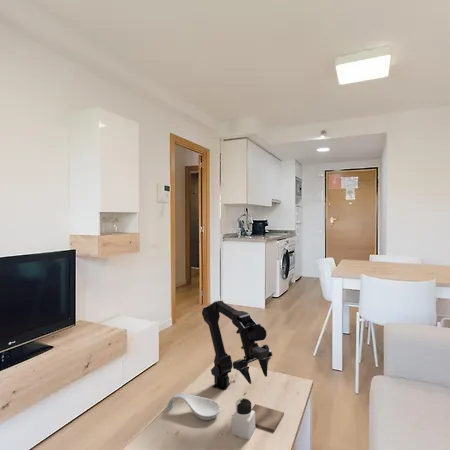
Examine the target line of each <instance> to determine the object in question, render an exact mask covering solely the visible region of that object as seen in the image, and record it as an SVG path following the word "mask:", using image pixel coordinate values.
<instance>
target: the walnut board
mask: <svg viewBox="0 0 450 450" xmlns="http://www.w3.org/2000/svg"><path fill="white" fill-rule="evenodd" d="M251 410H253V411H255V427H257V428H260V429H264V430H266V431H268V432H269V431H270V432H272V433H275V431H276V430H277V428H278V426H279V424H280V422H281V421H282V419H283V418H284V415H285V413H284V411H280V410H277V409H273V408H271V407H267V406H263V405H259V404H257V403H256V404H254V405H253V406H252V407H251Z"/></svg>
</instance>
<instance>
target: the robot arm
mask: <svg viewBox="0 0 450 450" xmlns="http://www.w3.org/2000/svg"><path fill="white" fill-rule="evenodd" d="M201 315H202V318H203V320H204V322H205V323H206V324H207V325H208V328H209V332H210V337H211V341H212V345H213V349H214V350H213V351H214V360H213V364H214V366H213V367H212V368H211V369H210V372H211V375H212V376H213V377H214V379H213V380H214V384H213V385H212V388H215V389H218V390H222V391H225V390H226V389H227V388H228V387H229V386H230V385H231V383H230V376H229V374H230V373H232V370H236V371H239V372H240V374H241V375H242V376H243V378H245V380H246V381H247V383H248V384H249V385H251V384H252V379H251V375H250V366H248V365H249V364H250V363H253V362H255V361H258V364H259V365H260V369H261V371H262V374H263V375H264V377H266V378H267V377H268V365H269V361H270V360H271V359H272V357H273V352H272V351H271V349H270V347H269V345H268V344H264V345H261V346H259V343H258V341H259V342H260V341H264V340H265V339H266V338H267V330H266V328H264V326H262V325H261V323H257V322H256V321H255V319H254V318H253V317H252V316H251V314H250V313H249V312H246V311H243V310H237V309H235V308H234V307H232V306H230V305H229V304H227V303H225V302H224V301H223V300H221V299H220V300H216V301H213V302H212V303H211V304H210V305H207V306H206V307H203V308H202V310H201ZM221 315H223V316H225V317H227V318H228V319H230V320H231V323H232V325H233V326H234V327H236V328H237V330H236V334H237V335H238V334H239V337H240V340H241V345H242V346H240V348H241V350H243V353H244V356H243V358H241V359H240V358H239V359H237V360H235V361H232V357H231V355H230V354H228V353H227V352H226V349H225V345H224V342H223V341H224V340H223V338H222V337H223V336H222V333H221V330H220V329H221V328H220V326H219V321H220V317H221ZM232 368H233V369H232Z"/></svg>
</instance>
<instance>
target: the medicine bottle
mask: <svg viewBox="0 0 450 450" xmlns="http://www.w3.org/2000/svg"><path fill="white" fill-rule="evenodd" d="M251 409H252V402H251V400H249V399H248V398H239V399H237V400H236V402H235V411H234V413H233V415H232V416H231V435H232V436H236V437H239V438H241V439H245V440H247V441H248V440H249V441H250V439H251V437H252V436H253V434H254V432H255V430H256V426H255V411H253V410H251Z"/></svg>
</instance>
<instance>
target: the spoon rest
mask: <svg viewBox="0 0 450 450" xmlns="http://www.w3.org/2000/svg"><path fill="white" fill-rule="evenodd" d="M178 399H181V400H183V401H184V402H185V403H186V404H187V407H188V408H189V409H190V410H191V412H192V413H193V414H194V416H195V417H197V418H198V419H200V420H202V421H209V420H213V419H214V418H216V417H217V416H218V415H219V413H220V411H221V405H220V404H219V402H217V401H215V400H214V399H211V398H207V397H202V396H198V395H194V394H190V393H185V392H178V393H175V394H174V395H172V397H171V399H169V401H168V402H167V405H166V411H167V412H168V411H170V410H171V409H172V408H173V407H174V401H175V400H178Z"/></svg>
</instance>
